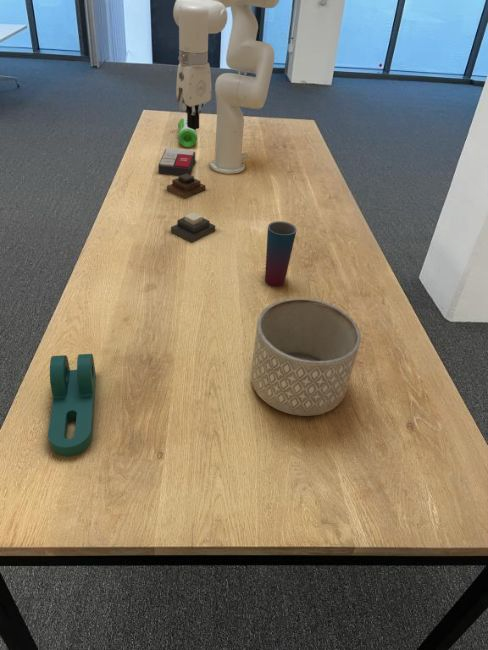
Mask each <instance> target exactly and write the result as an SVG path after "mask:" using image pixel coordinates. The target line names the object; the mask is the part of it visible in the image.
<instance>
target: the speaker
mask: <svg viewBox="0 0 488 650" xmlns="http://www.w3.org/2000/svg"><path fill="white" fill-rule="evenodd" d="M177 130H178V134H177V138H178V141H179V143H180V145H181V146H182V147H184V148H191V147H193V146H194V145H195V144H196V143H197V140H198V135H197V129H195V130H194V129H191V128H188V127H187V116H183V117H182V118H181V119H180V120H179V121H178V124H177Z"/></svg>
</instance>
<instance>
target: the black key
mask: <svg viewBox="0 0 488 650" xmlns="http://www.w3.org/2000/svg"><path fill="white" fill-rule="evenodd" d="M178 178H179V181H181V182H183V183H185V184H188V183H190V182H193V181H194V178H195V176H193V175H191V174H190V175H189V174H183V175H181V176H178Z"/></svg>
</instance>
